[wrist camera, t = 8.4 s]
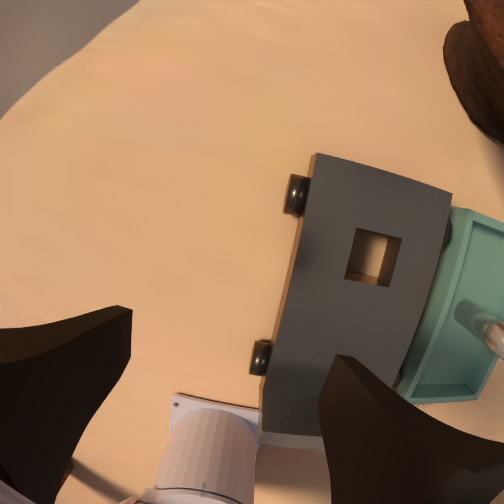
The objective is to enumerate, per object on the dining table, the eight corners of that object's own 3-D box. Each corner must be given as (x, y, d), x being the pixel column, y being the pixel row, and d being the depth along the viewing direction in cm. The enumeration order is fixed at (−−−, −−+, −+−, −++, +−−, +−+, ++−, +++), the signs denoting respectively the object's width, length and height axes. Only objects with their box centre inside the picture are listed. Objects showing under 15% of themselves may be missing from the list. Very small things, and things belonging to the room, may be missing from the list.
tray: (464, 386, 22) (476, 399, 19) (390, 386, 22) (400, 403, 19) (518, 233, 18) (536, 238, 16) (449, 206, 18) (468, 209, 16)
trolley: (378, 390, 22) (406, 447, 15) (246, 376, 22) (239, 441, 15) (440, 195, 18) (503, 202, 12) (293, 154, 18) (309, 135, 12)
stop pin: (469, 330, 20) (531, 382, 11) (442, 328, 20) (506, 386, 11) (481, 293, 19) (552, 337, 11) (455, 289, 19) (529, 337, 11)
